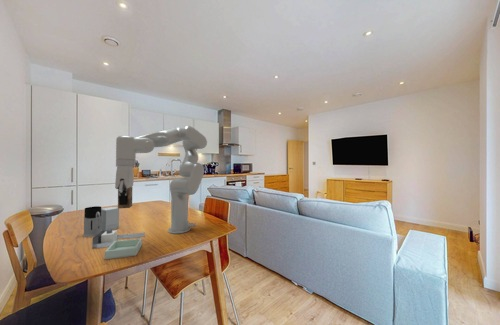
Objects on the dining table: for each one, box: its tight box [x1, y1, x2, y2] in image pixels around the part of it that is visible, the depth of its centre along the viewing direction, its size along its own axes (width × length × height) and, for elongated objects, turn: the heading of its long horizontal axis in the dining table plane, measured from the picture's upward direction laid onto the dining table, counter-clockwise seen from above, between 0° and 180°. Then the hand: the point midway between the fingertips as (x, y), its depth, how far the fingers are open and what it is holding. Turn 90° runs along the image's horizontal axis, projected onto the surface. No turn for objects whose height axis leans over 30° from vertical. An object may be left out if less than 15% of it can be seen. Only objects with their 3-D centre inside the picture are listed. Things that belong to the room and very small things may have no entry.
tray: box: [104, 237, 143, 260], centre depth 89 cm, size 12×12×4 cm
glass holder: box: [82, 205, 102, 238], centre depth 109 cm, size 9×14×15 cm, turn 55°
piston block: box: [101, 229, 118, 243], centre depth 99 cm, size 5×6×7 cm
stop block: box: [117, 186, 133, 210], centre depth 89 cm, size 4×4×9 cm
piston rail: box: [91, 230, 146, 249], centre depth 100 cm, size 20×11×5 cm, turn 108°
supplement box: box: [101, 206, 120, 231], centre depth 120 cm, size 7×7×13 cm
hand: (125, 203), depth 89 cm, fingers closed on stop block, 4 cm apart
